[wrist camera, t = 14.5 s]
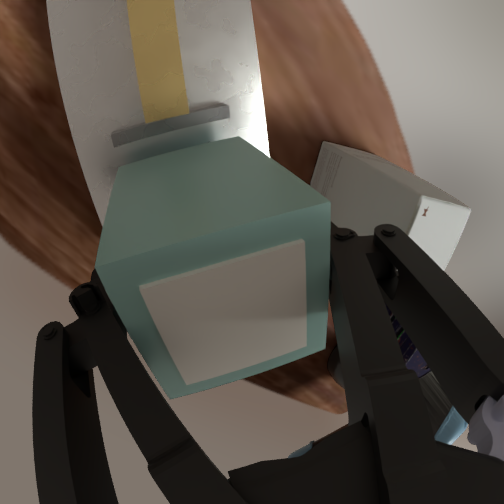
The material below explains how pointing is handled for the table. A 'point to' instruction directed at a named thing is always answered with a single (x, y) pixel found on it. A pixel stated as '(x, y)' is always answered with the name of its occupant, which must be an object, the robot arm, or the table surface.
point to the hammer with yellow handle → (157, 58)
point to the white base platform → (127, 89)
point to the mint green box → (216, 263)
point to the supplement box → (388, 200)
